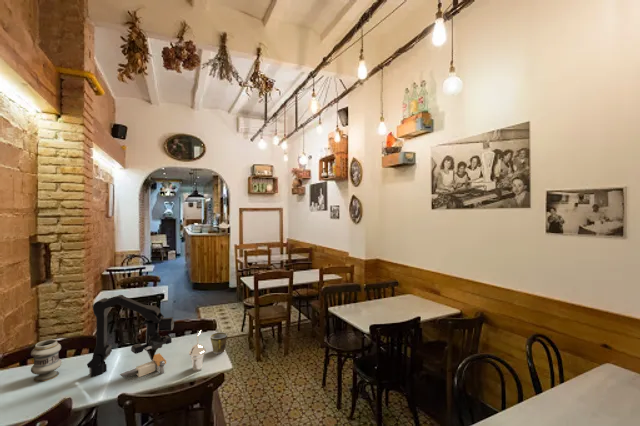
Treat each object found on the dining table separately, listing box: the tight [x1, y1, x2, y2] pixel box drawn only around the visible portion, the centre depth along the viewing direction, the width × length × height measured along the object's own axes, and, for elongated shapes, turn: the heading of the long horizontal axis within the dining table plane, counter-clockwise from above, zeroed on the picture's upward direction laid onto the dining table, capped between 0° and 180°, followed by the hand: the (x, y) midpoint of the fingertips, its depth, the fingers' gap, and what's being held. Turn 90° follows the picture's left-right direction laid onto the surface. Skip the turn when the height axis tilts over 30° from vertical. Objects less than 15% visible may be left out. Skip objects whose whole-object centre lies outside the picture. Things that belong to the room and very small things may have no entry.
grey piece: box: [119, 360, 166, 384], centre depth 160 cm, size 16×18×5 cm
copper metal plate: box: [153, 353, 167, 367], centre depth 165 cm, size 4×13×2 cm, turn 43°
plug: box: [125, 360, 156, 378], centre depth 159 cm, size 13×4×4 cm, turn 141°
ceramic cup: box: [209, 331, 228, 355], centre depth 186 cm, size 13×10×10 cm
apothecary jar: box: [30, 339, 63, 383], centre depth 159 cm, size 12×12×18 cm
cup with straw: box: [188, 329, 207, 373], centre depth 166 cm, size 8×9×20 cm
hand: (151, 359), depth 165 cm, fingers closed
